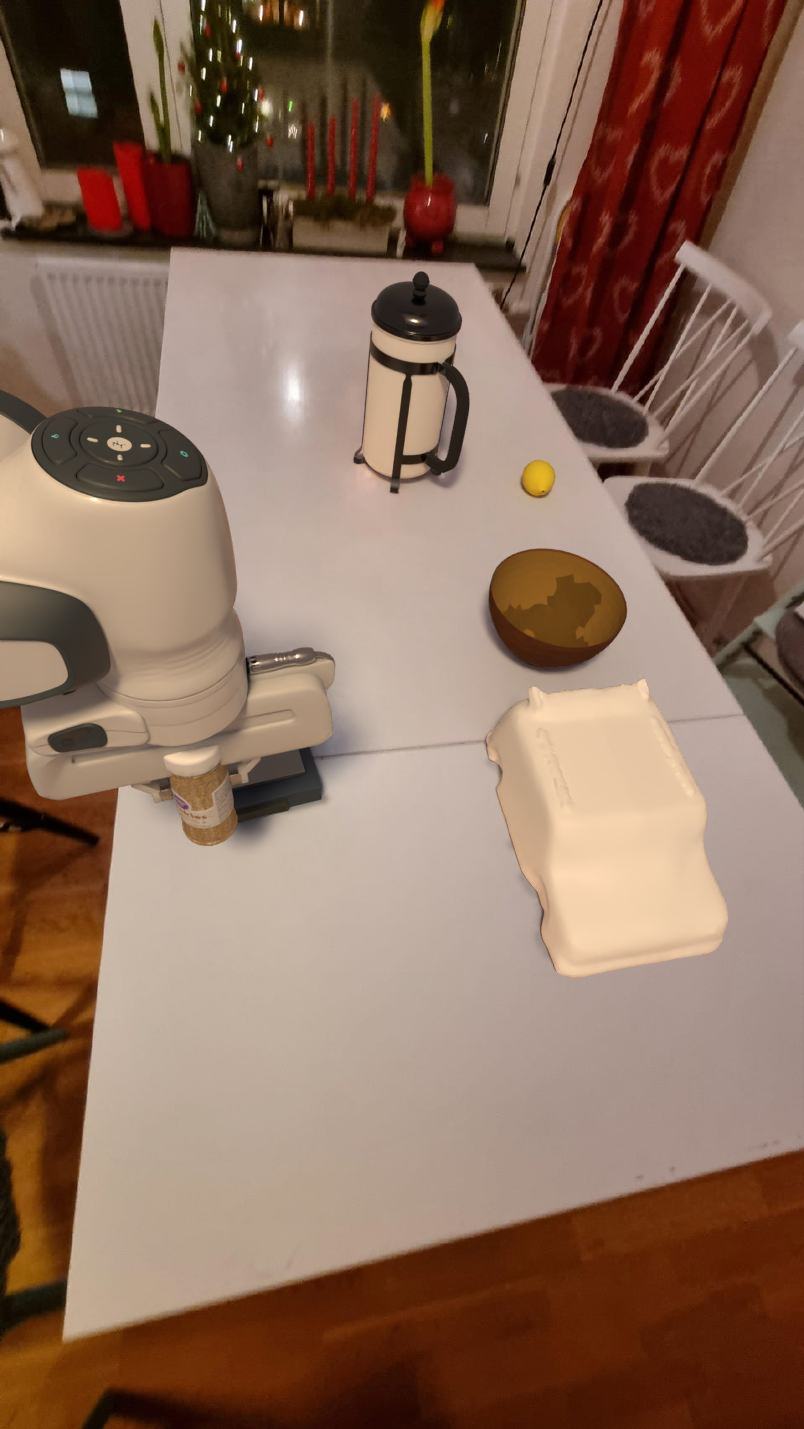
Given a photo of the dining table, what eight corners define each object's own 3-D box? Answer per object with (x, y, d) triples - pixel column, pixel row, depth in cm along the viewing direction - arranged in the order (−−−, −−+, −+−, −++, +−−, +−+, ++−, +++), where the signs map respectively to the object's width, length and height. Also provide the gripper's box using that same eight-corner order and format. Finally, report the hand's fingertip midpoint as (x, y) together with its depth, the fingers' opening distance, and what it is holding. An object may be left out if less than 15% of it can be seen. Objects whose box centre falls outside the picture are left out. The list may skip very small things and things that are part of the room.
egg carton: (616, 723, 90) (658, 655, 79) (721, 954, 73) (793, 909, 62) (475, 738, 86) (500, 669, 75) (552, 986, 69) (598, 944, 58)
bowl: (490, 701, 90) (508, 650, 82) (463, 602, 100) (477, 548, 92) (617, 694, 93) (647, 645, 85) (578, 600, 103) (602, 547, 95)
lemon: (515, 478, 119) (523, 450, 114) (546, 480, 120) (555, 452, 115) (522, 504, 115) (530, 476, 110) (553, 506, 115) (563, 478, 111)
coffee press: (343, 489, 112) (354, 288, 88) (362, 434, 121) (377, 239, 97) (449, 510, 112) (489, 315, 87) (459, 454, 121) (499, 264, 97)
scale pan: (202, 798, 73) (201, 795, 72) (185, 715, 78) (184, 712, 78) (305, 774, 76) (305, 771, 75) (281, 696, 82) (281, 692, 81)
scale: (196, 836, 74) (192, 823, 72) (174, 727, 82) (170, 712, 79) (323, 805, 78) (323, 791, 76) (291, 703, 86) (290, 688, 83)
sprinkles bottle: (172, 835, 57) (139, 747, 47) (202, 791, 60) (177, 698, 49) (220, 856, 57) (199, 772, 46) (249, 811, 59) (235, 722, 48)
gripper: (323, 610, 47) (320, 725, 59) (-6, 663, 42) (59, 780, 53) (349, 681, 44) (340, 789, 55) (-5, 748, 39) (64, 853, 50)
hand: (200, 785), depth 54 cm, fingers closed on sprinkles bottle, 4 cm apart
